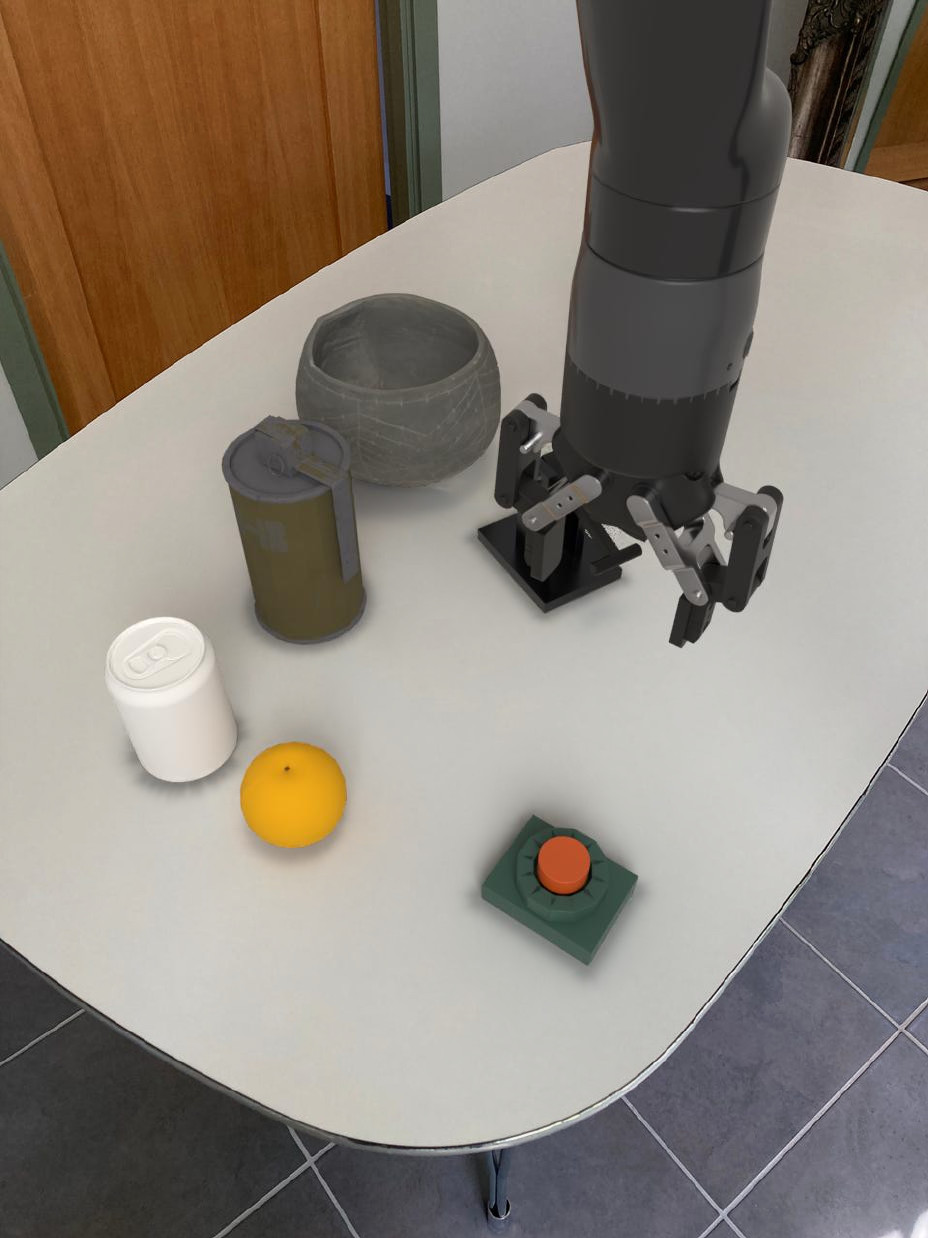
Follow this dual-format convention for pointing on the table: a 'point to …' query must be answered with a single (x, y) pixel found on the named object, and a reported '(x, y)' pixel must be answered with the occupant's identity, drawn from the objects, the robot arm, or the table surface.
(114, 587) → the table surface
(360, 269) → the table surface
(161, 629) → the beverage can
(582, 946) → the button box
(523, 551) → the bracket
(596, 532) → the lever
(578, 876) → the button
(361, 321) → the bowl
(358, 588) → the canister
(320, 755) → the orange
